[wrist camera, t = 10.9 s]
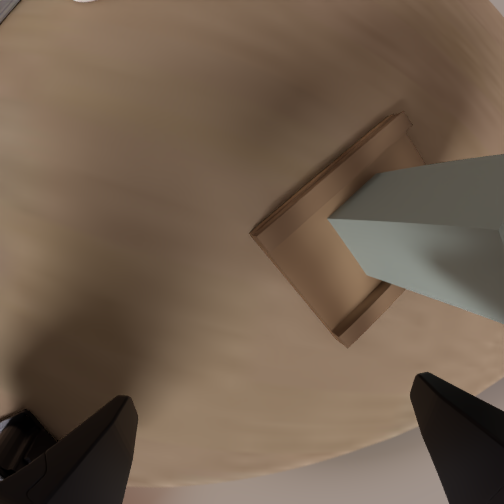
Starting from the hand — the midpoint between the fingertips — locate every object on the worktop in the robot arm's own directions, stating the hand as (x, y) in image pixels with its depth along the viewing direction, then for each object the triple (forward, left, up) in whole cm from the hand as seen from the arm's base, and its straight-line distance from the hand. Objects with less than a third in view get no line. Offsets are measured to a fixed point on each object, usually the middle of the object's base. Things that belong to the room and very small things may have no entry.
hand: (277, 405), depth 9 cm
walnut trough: (+11, 0, -12) cm, 16 cm away
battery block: (+11, 0, -11) cm, 16 cm away
